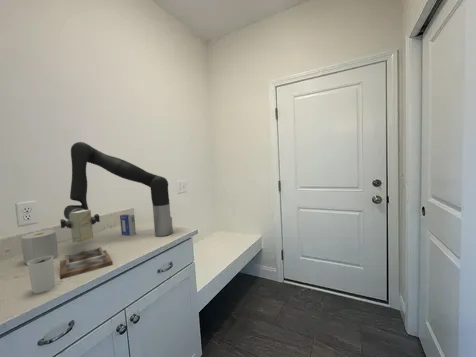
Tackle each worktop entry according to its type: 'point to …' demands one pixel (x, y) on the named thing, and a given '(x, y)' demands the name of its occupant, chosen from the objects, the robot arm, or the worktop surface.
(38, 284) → the white coffee cup
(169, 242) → the worktop surface
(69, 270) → the socket board
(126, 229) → the walkman
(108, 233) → the worktop surface
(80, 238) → the skincare box
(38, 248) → the toilet paper roll
